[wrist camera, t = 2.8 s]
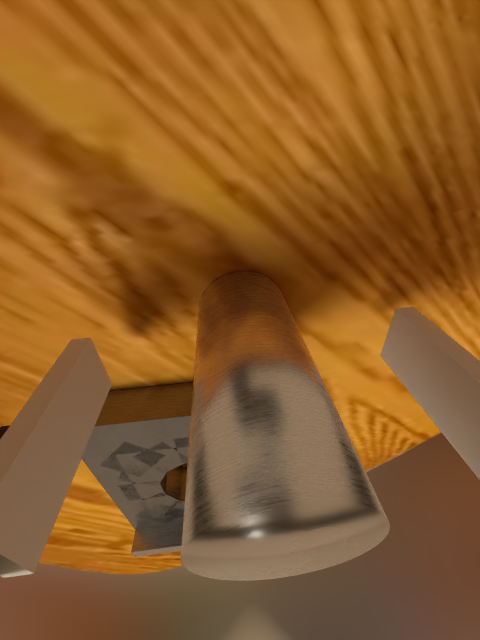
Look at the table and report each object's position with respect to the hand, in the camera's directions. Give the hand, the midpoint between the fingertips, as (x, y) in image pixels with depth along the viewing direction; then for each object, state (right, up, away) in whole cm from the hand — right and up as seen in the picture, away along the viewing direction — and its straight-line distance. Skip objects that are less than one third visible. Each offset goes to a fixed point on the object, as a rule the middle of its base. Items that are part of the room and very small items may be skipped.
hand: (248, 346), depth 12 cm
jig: (-3, -9, +9) cm, 14 cm away
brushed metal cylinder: (0, +2, +2) cm, 3 cm away
